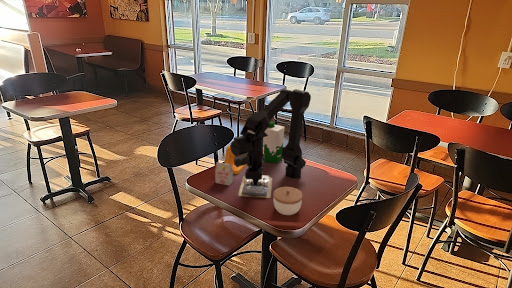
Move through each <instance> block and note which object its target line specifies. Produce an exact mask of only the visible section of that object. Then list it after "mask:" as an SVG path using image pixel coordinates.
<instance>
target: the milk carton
mask: <svg viewBox="0 0 512 288" xmlns="http://www.w3.org/2000/svg"><path fill="white" fill-rule="evenodd" d="M265 133H266V134H267V135H268V136H267V137H264V138H263V154H264V155H265V160H264V162H263V163H267V164H279V163H281V162H282V161H283V159H282V156H281V154H282V148H283V147H284V135H285V126H282V125H279V124H275V122H274V121H272V120H270V125H269V127H268V128H267V129H266V131H265ZM280 161H281V162H280Z"/></svg>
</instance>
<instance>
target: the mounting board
mask: <svg viewBox="0 0 512 288" xmlns="http://www.w3.org/2000/svg"><path fill="white" fill-rule="evenodd" d="M245 179H246V178H245V175H243V176H242V179H241V183H240V186H239V190H238V193H237V196H238V197H248V198H249V197H250V198H264V199H265V198H270V199H271V197H272V187H273V184H272V183H273V177H269V182H268V190H267V195H250V194H242V190H243V186H244V180H245ZM250 186H251V185H250Z"/></svg>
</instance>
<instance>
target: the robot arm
mask: <svg viewBox="0 0 512 288" xmlns="http://www.w3.org/2000/svg"><path fill="white" fill-rule="evenodd" d="M311 100H312V96H311V94H310V92H309V91H305V90H302V89H296V88H295V89H293V90H291V89H290V90H289V89H286V88H283V89H281V90H280V91H279V93H278V94H277V95H276V96H275V97H274V98H273V99H272V100H271V101H269V103H268V104H267V105H266V106H264V107H263V109H261V110H260V111H257V112H254V113H253V114H251V115H250V116H248V117H247V119H246V120H245V123H244V124H243V127H242V129H241V131H240V132H239V134H240V136H235V137H233V140H232V141H231V142H230V144H229V145H230V149H231V152H232V153H233V155H235V157H234V165H236V167H239V166H242V165H245V164H247V166H246V167H248V168H247V169H246V170H245V174H244V176H245V178H246V179H252V180H253V183H254V185H257V183H258V181H259V180H261V179H262V175H263V174H264V173H263V172H264V163H265V162H264V160H265V155H264V137H267V136H268V135H267V134H266V133H265V131H266V129H267V128H268V127H269V125H270V121H272V119H273V118H275V116H276V115H277V114H279V112H280V111H281V110H282V109H283V108H284V107H285V106H286V105H287V104H288V103H289V107H290V108H291V111H292V112H291V117H290V125H289V133H288V140H287V141H288V142H287V144H286V145H285V146H283V148H282V154H281V156H282V161H283V163H284V164H286V165H285V173H284V174H285V177H289V178H290V179H298V178H302V169H303V170H304V167H305V166H306V163H307V162H306V160H305V159H304V158H303V150H302V148H301V146H300V143H301V136H302V131H303V130H302V129H303V123H304V114H305V112H306V111H307V110H308V109H309V106H310V103H311Z"/></svg>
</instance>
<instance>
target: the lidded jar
mask: <svg viewBox="0 0 512 288" xmlns="http://www.w3.org/2000/svg"><path fill="white" fill-rule="evenodd" d="M272 196H273V206H274V208H275V209H276V211H277V213H279V214H281V215H284V216H292V215H295V214H296V213H298V211H299V210H300V209H301V206H302V202H303V192H302V191H301V190H300V189H298V188H295V187H293V186H292V187H291V186H281V187H278V188H276V189H275V190H274V191H273V195H272Z"/></svg>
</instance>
